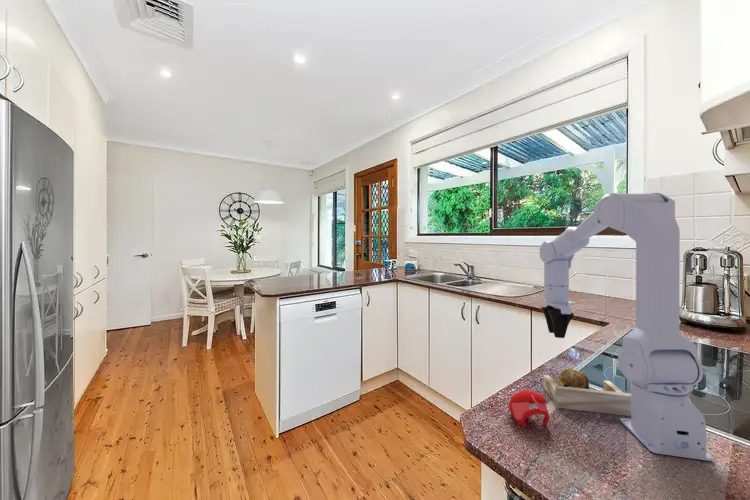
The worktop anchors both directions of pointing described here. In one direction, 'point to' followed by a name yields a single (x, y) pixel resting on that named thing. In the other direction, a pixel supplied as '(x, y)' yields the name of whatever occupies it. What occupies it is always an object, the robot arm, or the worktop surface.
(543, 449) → the worktop surface
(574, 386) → the fruit
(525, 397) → the red toy helmet
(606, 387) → the holder
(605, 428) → the worktop surface
